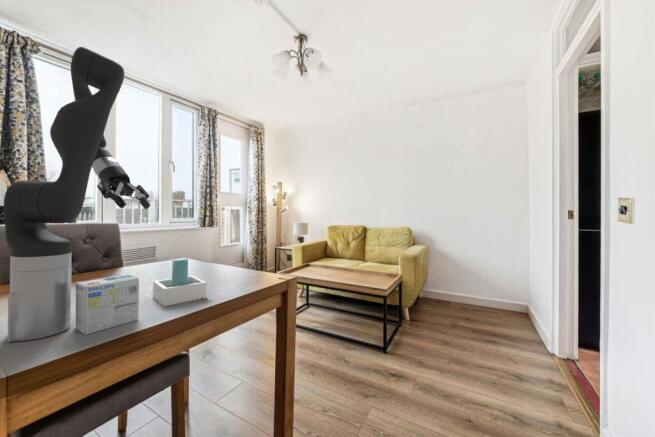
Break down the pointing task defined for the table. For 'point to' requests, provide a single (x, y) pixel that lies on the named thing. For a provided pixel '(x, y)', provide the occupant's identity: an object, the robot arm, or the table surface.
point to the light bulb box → (106, 303)
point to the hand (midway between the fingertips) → (136, 207)
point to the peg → (179, 272)
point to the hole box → (179, 291)
